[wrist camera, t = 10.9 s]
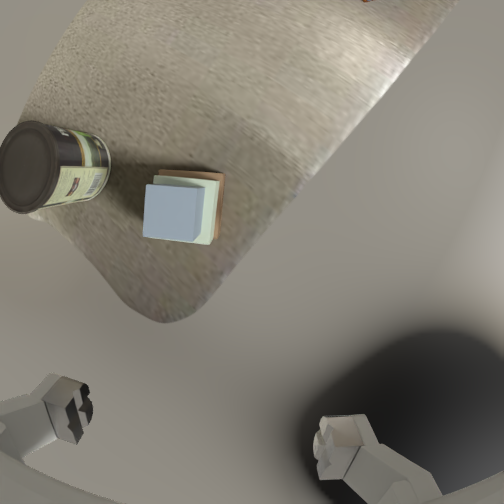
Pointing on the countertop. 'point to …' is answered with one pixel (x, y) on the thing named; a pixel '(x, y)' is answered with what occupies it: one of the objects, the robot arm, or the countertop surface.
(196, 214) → the slate cube
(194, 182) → the sage block
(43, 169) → the coffee can
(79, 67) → the countertop surface
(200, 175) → the walnut slab
